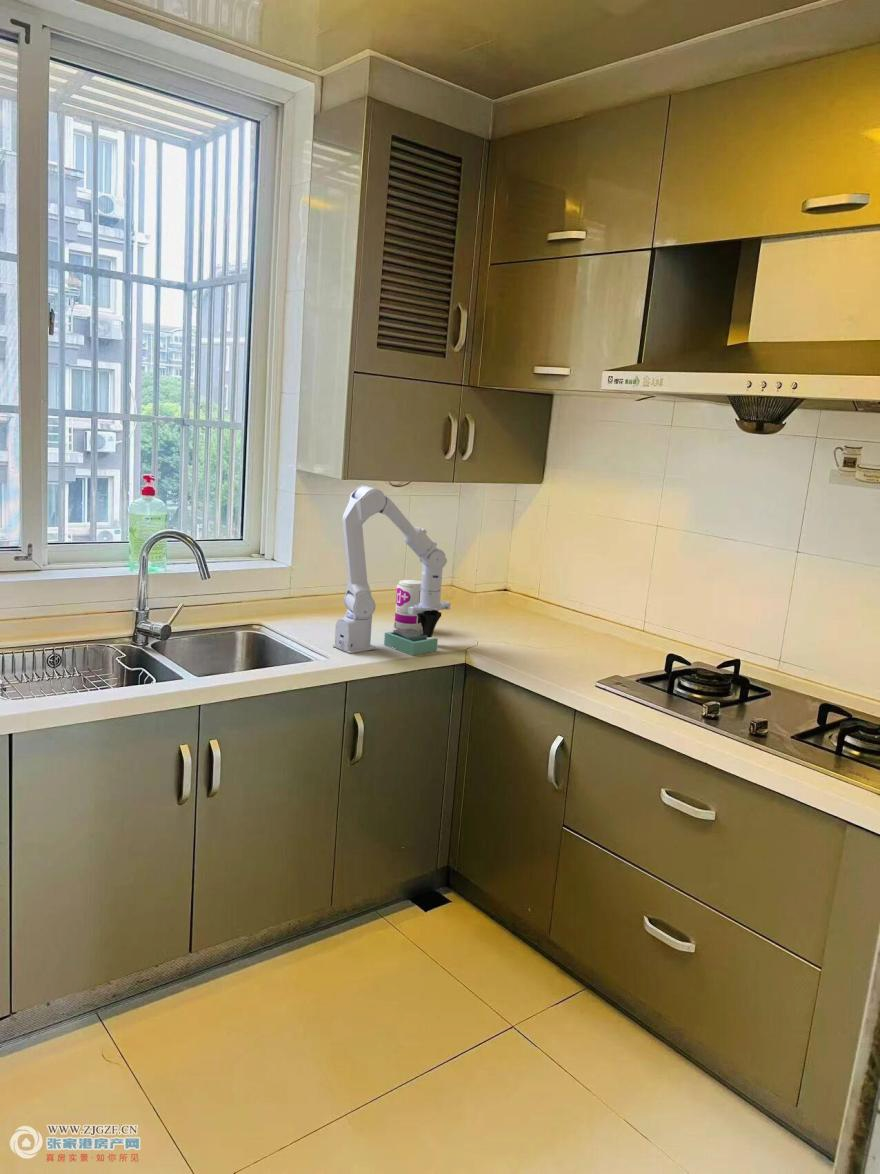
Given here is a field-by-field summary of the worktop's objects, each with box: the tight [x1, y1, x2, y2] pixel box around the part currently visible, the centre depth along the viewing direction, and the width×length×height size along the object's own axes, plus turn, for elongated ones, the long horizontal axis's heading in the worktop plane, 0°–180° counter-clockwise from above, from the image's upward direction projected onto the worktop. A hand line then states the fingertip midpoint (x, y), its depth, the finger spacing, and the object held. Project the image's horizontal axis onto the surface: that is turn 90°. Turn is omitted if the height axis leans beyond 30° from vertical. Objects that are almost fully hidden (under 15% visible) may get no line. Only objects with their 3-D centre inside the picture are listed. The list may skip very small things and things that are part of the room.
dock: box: [383, 631, 439, 656], centre depth 245 cm, size 9×12×4 cm
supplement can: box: [393, 578, 422, 632], centre depth 262 cm, size 8×8×15 cm
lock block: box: [393, 628, 428, 642], centre depth 245 cm, size 6×8×4 cm
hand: (427, 636), depth 249 cm, fingers closed
